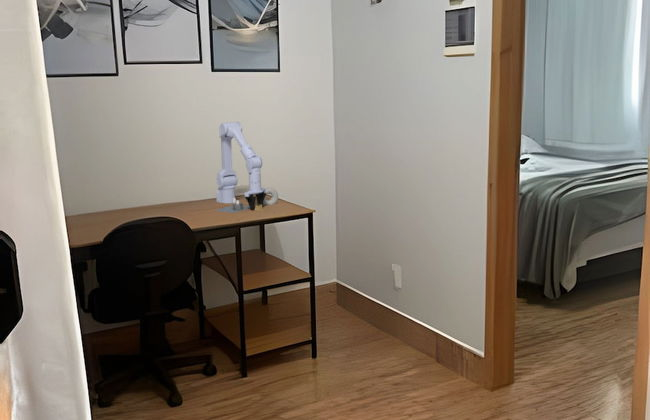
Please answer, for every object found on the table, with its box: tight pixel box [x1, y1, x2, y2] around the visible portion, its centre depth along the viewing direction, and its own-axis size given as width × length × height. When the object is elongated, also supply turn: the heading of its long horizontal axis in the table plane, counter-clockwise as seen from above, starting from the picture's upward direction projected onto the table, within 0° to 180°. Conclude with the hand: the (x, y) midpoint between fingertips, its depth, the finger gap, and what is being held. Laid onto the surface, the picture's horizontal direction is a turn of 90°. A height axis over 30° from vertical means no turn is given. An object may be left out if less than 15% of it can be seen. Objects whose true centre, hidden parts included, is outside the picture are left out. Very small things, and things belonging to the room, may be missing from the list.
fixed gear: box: [231, 202, 245, 211], centre depth 312 cm, size 5×5×3 cm
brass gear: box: [254, 203, 263, 211], centre depth 312 cm, size 6×6×4 cm
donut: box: [263, 187, 279, 206], centre depth 323 cm, size 10×3×10 cm, turn 109°
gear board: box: [214, 197, 250, 214], centre depth 314 cm, size 13×16×6 cm
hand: (256, 208), depth 312 cm, fingers closed on brass gear, 5 cm apart
